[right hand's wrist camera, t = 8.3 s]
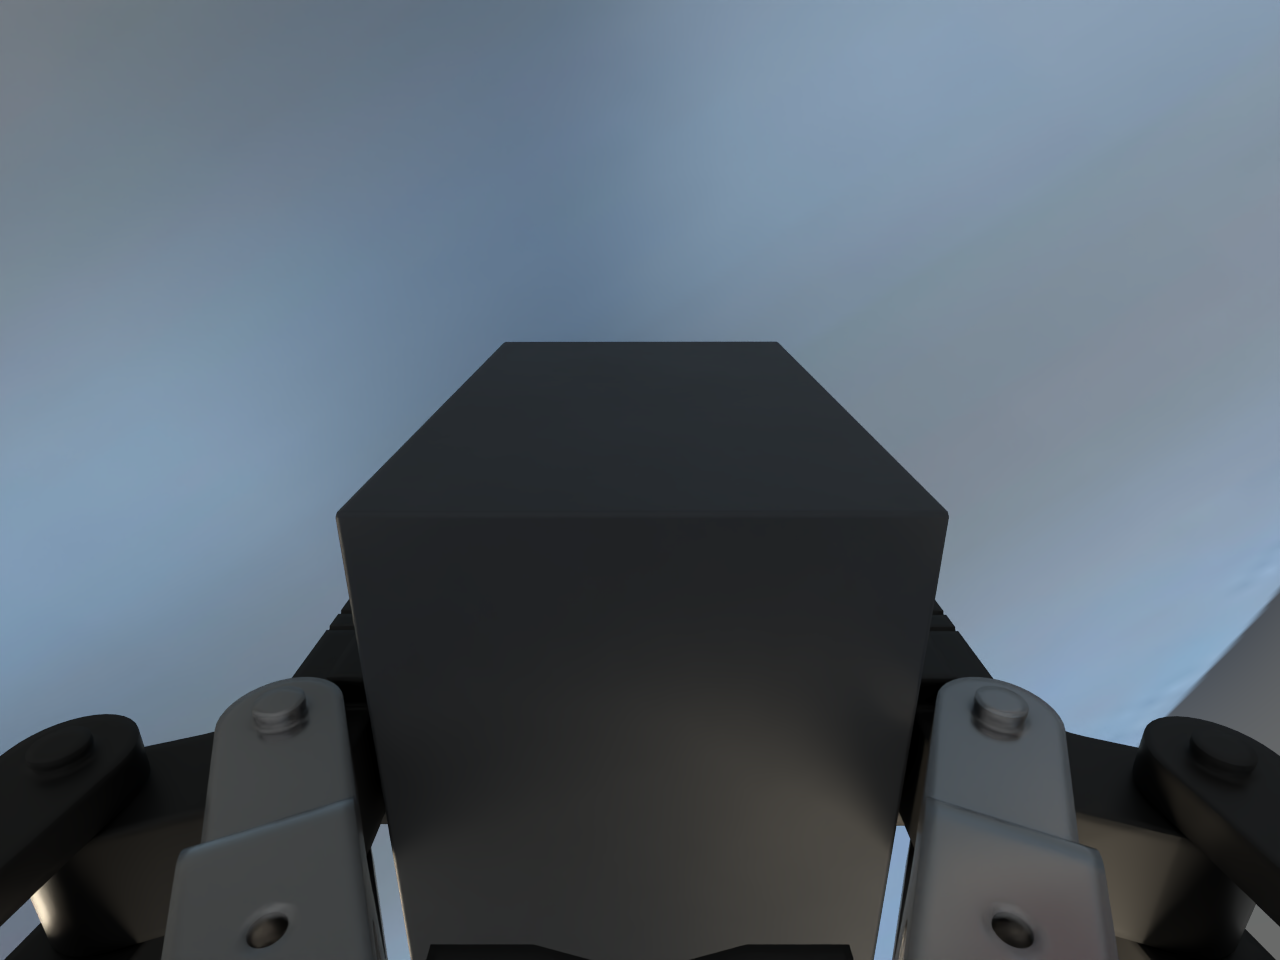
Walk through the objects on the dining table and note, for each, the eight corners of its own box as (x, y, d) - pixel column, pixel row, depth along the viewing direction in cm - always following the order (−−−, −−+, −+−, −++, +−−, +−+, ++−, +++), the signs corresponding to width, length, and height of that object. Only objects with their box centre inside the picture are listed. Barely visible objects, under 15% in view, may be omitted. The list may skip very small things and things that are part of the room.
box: (503, 341, 15) (331, 512, 7) (778, 341, 15) (952, 512, 7) (551, 1019, 23) (499, 1489, 15) (731, 1019, 23) (784, 1490, 15)
